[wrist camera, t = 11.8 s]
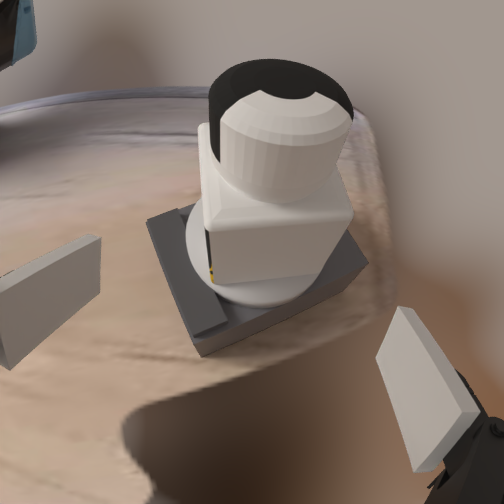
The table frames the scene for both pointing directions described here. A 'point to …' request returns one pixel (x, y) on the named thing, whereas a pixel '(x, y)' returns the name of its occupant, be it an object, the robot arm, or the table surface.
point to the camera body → (238, 294)
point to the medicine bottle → (273, 171)
